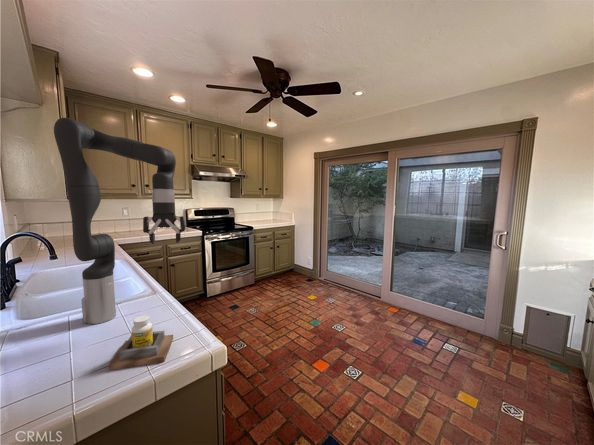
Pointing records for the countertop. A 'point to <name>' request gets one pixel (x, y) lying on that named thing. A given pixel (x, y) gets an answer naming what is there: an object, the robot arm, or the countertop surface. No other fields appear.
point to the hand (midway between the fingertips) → (165, 243)
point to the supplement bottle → (142, 332)
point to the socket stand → (142, 352)
